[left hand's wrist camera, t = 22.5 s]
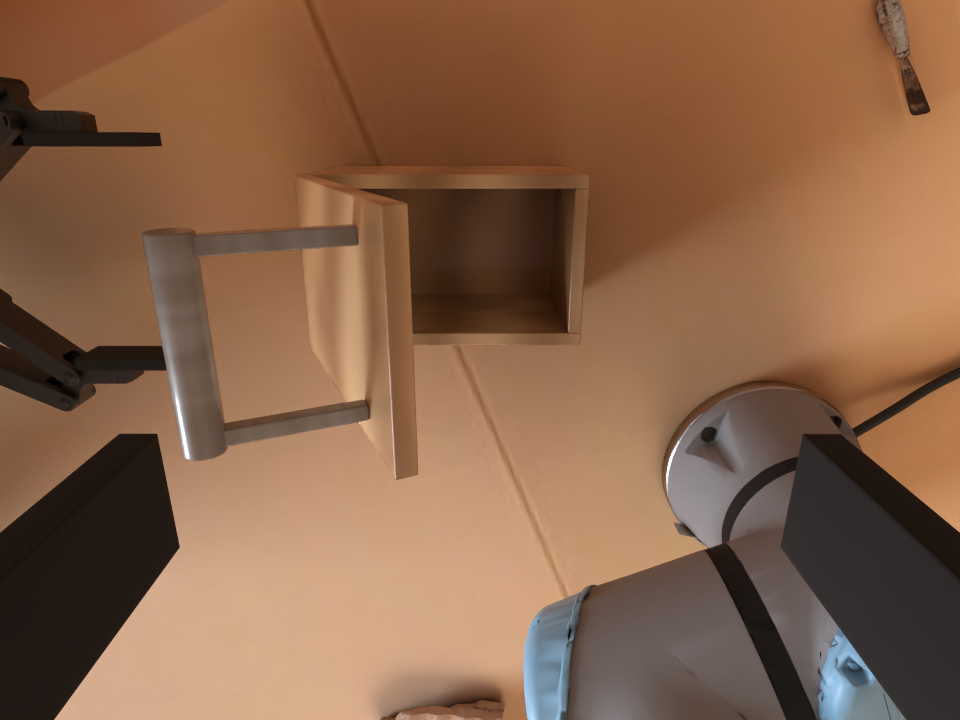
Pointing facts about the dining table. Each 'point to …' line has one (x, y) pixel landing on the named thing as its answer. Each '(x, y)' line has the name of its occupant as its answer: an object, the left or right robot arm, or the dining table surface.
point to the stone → (454, 712)
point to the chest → (489, 249)
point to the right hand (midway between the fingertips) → (170, 255)
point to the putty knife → (901, 51)
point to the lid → (331, 313)
